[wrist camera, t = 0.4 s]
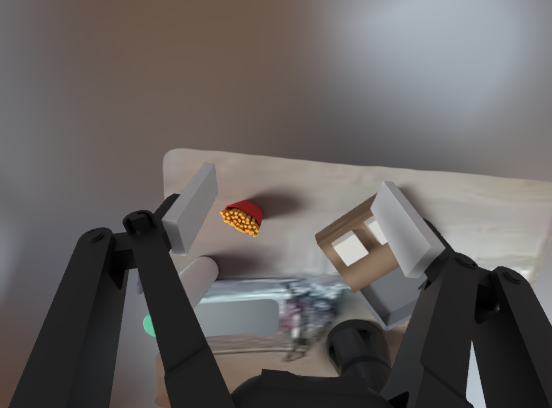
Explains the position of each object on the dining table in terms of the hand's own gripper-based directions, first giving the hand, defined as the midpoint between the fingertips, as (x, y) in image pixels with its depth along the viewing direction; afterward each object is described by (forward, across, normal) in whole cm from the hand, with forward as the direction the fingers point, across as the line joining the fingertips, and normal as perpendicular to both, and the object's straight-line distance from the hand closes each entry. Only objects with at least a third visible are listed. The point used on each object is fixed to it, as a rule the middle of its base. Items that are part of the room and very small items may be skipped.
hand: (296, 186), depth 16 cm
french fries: (+25, +7, +24) cm, 35 cm away
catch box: (+16, -30, +34) cm, 48 cm away
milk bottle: (+18, +18, +40) cm, 47 cm away
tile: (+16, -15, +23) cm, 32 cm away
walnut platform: (+21, -20, +25) cm, 39 cm away
